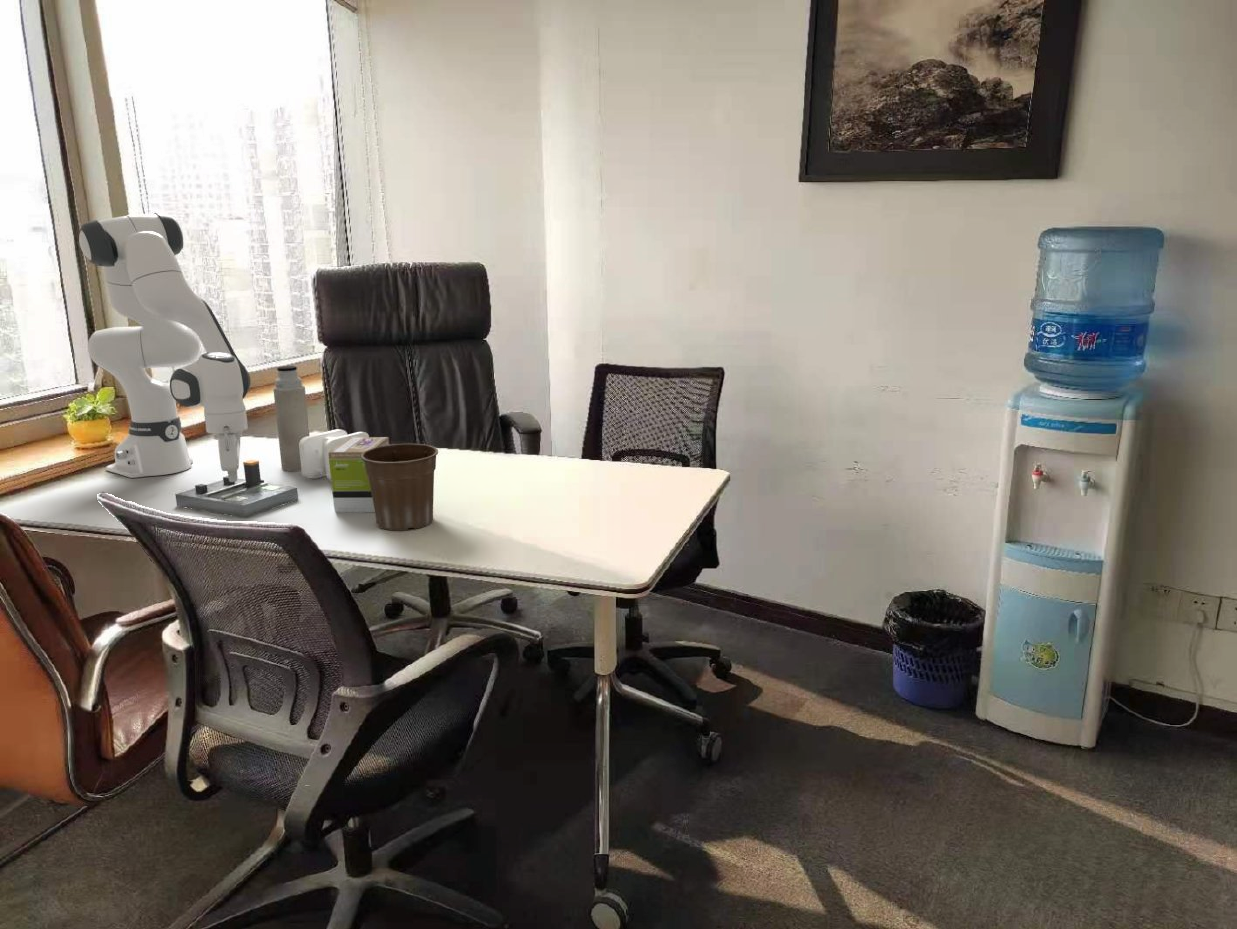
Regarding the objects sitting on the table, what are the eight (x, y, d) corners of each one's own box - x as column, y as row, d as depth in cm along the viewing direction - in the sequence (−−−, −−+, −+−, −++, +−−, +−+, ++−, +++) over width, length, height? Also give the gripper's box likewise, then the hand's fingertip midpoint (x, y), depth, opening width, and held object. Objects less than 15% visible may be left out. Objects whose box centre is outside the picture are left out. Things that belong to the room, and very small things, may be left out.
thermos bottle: (300, 462, 241) (290, 363, 234) (318, 466, 237) (309, 365, 230) (275, 468, 234) (264, 367, 227) (294, 472, 230) (283, 369, 223)
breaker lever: (242, 485, 206) (240, 462, 204) (255, 481, 209) (253, 459, 208) (251, 486, 205) (248, 463, 203) (264, 482, 208) (261, 460, 207)
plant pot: (425, 536, 179) (420, 462, 175) (353, 532, 182) (347, 459, 178) (452, 513, 195) (449, 444, 191) (386, 510, 198) (381, 442, 194)
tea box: (354, 494, 210) (349, 435, 206) (395, 494, 210) (390, 436, 206) (332, 513, 196) (327, 450, 192) (376, 513, 195) (371, 450, 192)
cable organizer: (329, 486, 217) (325, 442, 214) (300, 480, 222) (296, 437, 219) (372, 473, 230) (369, 430, 227) (345, 468, 235) (341, 426, 232)
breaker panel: (176, 506, 201) (174, 487, 200) (232, 489, 215) (230, 471, 214) (245, 518, 192) (243, 498, 191) (298, 499, 206) (296, 480, 205)
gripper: (240, 430, 190) (247, 490, 193) (241, 414, 208) (248, 469, 211) (209, 432, 187) (217, 493, 191) (213, 416, 206) (220, 471, 209)
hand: (233, 480), depth 201 cm, fingers closed
